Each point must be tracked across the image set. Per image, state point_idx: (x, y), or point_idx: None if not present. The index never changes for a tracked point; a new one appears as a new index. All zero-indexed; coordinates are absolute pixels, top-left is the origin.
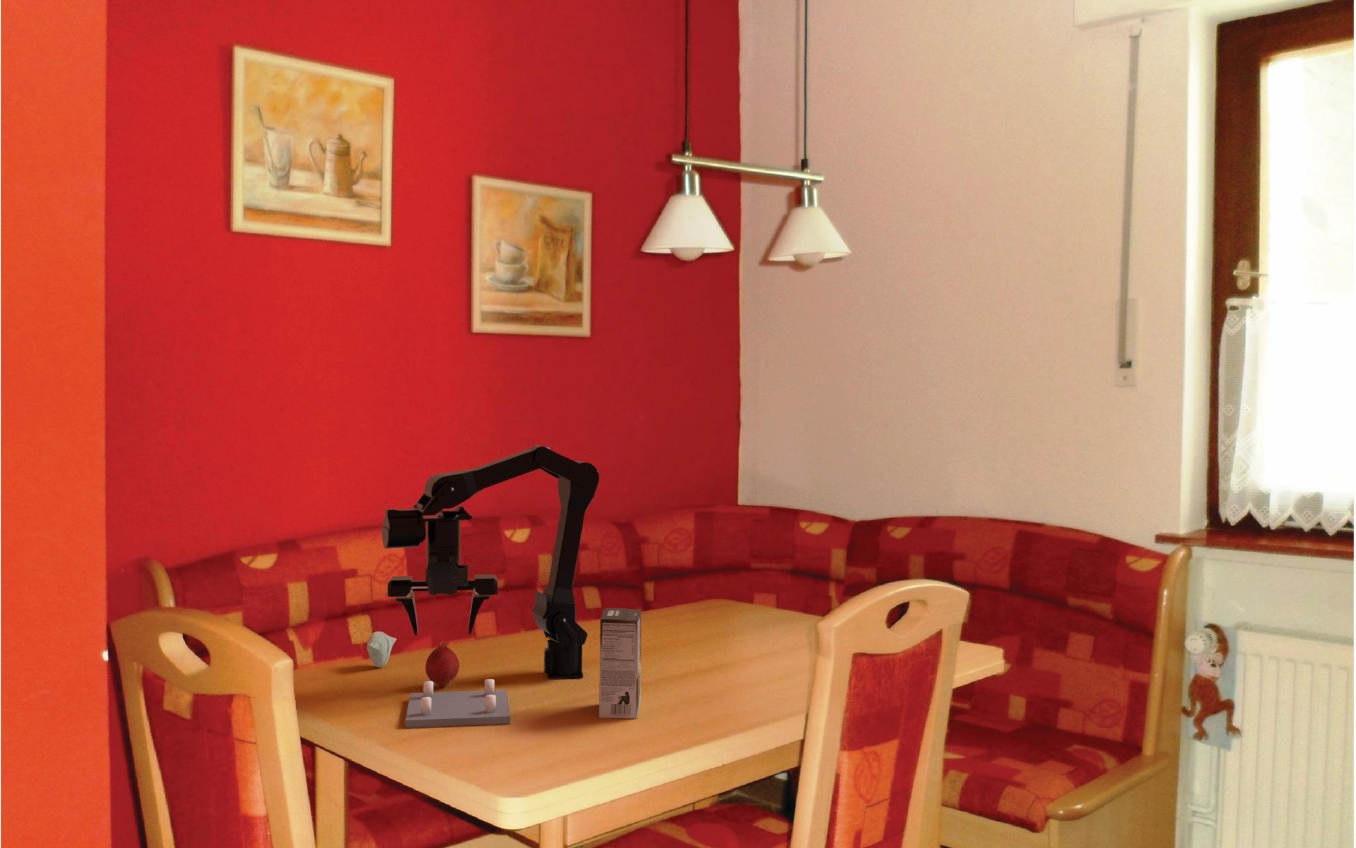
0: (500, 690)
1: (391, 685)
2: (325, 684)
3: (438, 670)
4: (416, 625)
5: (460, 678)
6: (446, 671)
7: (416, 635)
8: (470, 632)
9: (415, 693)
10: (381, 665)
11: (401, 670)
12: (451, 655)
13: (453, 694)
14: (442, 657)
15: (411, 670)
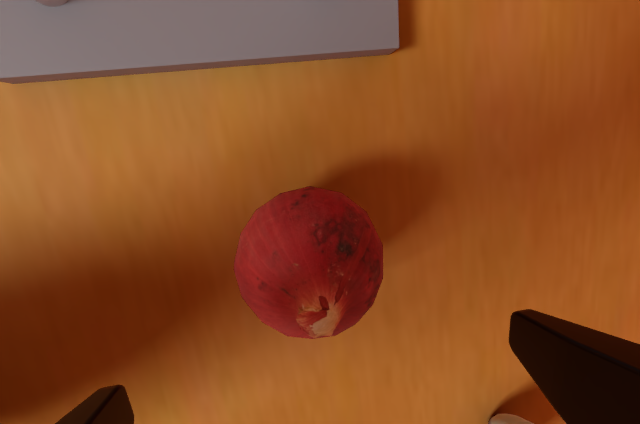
0: (15, 67)
1: (458, 250)
2: (625, 255)
3: (316, 189)
4: (595, 350)
5: (258, 336)
6: (281, 193)
7: (516, 313)
8: (97, 394)
9: (380, 40)
10: (495, 418)
11: (438, 401)
12: (263, 255)
13: (222, 9)
14: (308, 226)
15: (412, 404)
